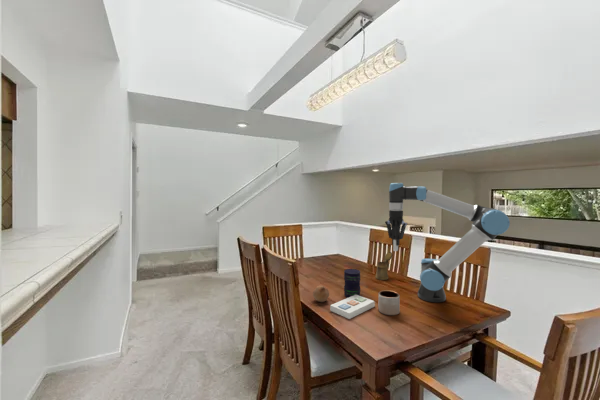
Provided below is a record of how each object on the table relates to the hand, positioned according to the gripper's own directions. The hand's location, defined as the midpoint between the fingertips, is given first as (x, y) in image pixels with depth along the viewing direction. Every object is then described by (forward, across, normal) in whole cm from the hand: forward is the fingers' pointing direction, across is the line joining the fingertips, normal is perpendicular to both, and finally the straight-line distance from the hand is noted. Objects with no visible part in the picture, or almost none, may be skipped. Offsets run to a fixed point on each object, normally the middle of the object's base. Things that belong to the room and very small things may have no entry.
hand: (395, 250), depth 163 cm
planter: (+30, -5, +15) cm, 34 cm away
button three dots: (+29, +10, +26) cm, 41 cm away
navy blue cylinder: (+30, +22, +12) cm, 39 cm away
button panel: (+29, +10, +26) cm, 41 cm away
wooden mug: (+30, +27, -31) cm, 51 cm away
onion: (+30, +29, +32) cm, 52 cm away
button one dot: (+29, +10, +34) cm, 46 cm away
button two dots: (+29, +10, +19) cm, 37 cm away
